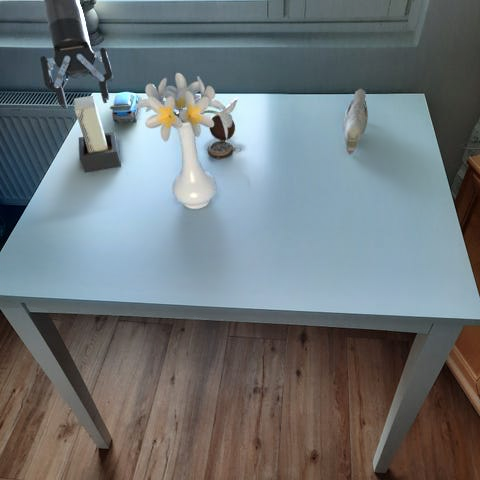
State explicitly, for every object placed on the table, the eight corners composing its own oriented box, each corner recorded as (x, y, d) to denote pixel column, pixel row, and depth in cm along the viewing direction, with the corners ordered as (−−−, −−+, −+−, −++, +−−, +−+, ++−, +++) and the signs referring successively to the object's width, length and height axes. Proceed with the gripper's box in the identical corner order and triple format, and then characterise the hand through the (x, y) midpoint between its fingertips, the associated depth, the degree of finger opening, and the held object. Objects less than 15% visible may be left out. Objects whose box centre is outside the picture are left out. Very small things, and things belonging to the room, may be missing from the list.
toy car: (140, 102, 127) (136, 81, 123) (136, 126, 120) (131, 105, 116) (119, 103, 127) (113, 82, 123) (113, 128, 120) (107, 106, 116)
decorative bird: (337, 154, 109) (342, 124, 103) (345, 117, 118) (349, 87, 113) (361, 156, 108) (367, 126, 102) (367, 119, 118) (372, 89, 112)
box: (90, 150, 113) (72, 97, 102) (108, 146, 113) (93, 94, 103) (91, 162, 109) (73, 109, 99) (110, 159, 110) (94, 106, 100)
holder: (84, 173, 109) (79, 157, 106) (83, 152, 114) (78, 137, 111) (121, 166, 110) (116, 151, 107) (118, 146, 115) (114, 131, 112)
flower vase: (242, 216, 97) (237, 99, 78) (154, 221, 98) (126, 105, 78) (241, 178, 105) (235, 62, 85) (159, 182, 106) (135, 68, 86)
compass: (205, 159, 110) (201, 130, 104) (211, 140, 115) (209, 111, 109) (239, 161, 109) (237, 132, 103) (244, 142, 114) (242, 113, 108)
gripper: (27, 21, 95) (47, 104, 97) (98, 11, 96) (115, 93, 99) (38, 38, 102) (56, 115, 105) (103, 29, 104) (120, 105, 106)
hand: (85, 105), depth 102 cm, fingers open, 8 cm apart
